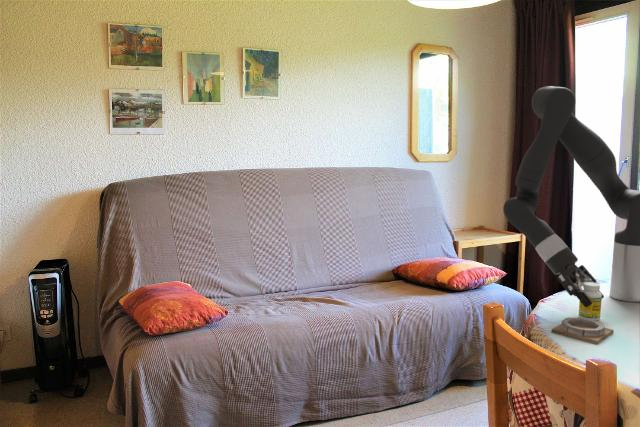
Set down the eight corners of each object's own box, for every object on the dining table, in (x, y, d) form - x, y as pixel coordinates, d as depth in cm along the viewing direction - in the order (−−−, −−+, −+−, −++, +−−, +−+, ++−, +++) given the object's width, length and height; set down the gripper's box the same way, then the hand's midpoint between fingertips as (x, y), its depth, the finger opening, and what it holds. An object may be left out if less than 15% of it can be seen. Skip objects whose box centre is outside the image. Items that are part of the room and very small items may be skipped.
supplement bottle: (585, 313, 153) (588, 280, 152) (604, 318, 149) (606, 284, 147) (574, 316, 150) (576, 283, 149) (593, 322, 146) (595, 287, 144)
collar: (568, 321, 146) (569, 313, 146) (613, 332, 138) (613, 324, 138) (551, 332, 138) (552, 323, 138) (597, 344, 130) (598, 334, 130)
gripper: (555, 249, 147) (597, 300, 140) (576, 243, 157) (615, 289, 150) (534, 265, 151) (574, 315, 145) (556, 257, 161) (594, 304, 155)
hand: (595, 302), depth 148 cm, fingers open, 8 cm apart
